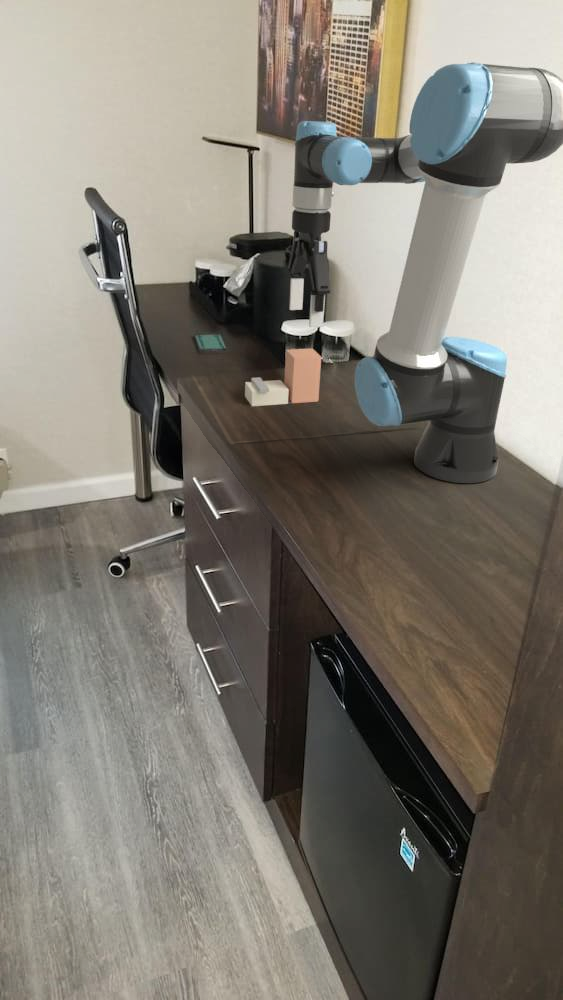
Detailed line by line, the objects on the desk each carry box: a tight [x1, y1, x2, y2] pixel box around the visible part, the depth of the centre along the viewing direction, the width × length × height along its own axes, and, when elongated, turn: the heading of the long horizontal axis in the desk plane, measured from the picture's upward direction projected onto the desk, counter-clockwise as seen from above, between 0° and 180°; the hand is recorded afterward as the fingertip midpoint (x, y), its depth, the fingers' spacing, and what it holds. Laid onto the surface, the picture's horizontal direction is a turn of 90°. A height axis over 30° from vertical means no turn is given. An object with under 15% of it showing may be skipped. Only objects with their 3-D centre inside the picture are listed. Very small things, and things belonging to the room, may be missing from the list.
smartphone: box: [193, 333, 229, 355], centre depth 200 cm, size 7×1×15 cm
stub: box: [283, 348, 322, 404], centre depth 163 cm, size 6×6×10 cm
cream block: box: [244, 377, 292, 407], centre depth 163 cm, size 7×9×5 cm
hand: (305, 318), depth 158 cm, fingers open, 13 cm apart
